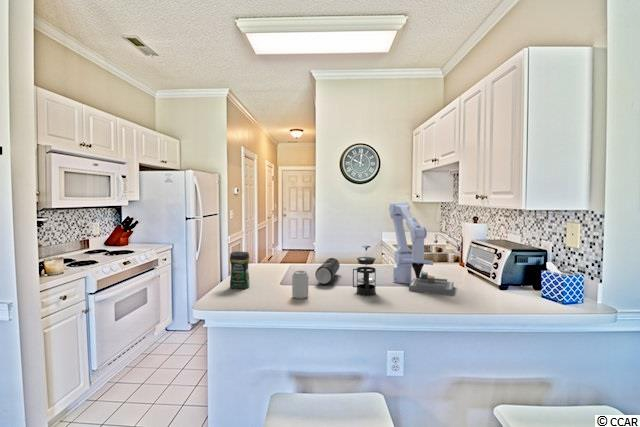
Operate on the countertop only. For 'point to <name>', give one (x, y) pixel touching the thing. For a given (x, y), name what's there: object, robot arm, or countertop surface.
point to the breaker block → (431, 285)
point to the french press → (365, 276)
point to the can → (300, 284)
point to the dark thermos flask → (327, 271)
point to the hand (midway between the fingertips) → (417, 278)
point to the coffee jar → (239, 270)
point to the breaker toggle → (431, 279)
